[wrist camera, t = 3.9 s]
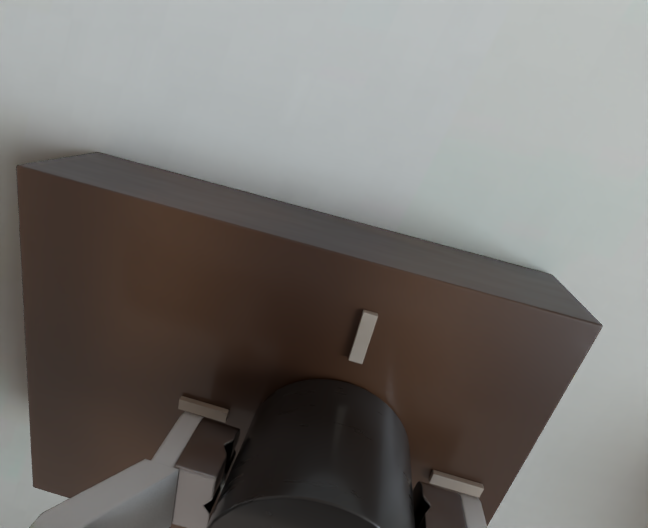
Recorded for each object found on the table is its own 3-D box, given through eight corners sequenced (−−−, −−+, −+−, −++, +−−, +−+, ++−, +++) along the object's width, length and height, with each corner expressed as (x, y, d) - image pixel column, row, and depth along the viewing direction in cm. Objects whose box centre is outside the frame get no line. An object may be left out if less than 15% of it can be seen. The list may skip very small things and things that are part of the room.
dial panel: (91, 423, 17) (28, 491, 14) (96, 151, 12) (9, 165, 10) (428, 525, 16) (438, 618, 13) (553, 274, 12) (608, 329, 9)
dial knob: (239, 477, 12) (181, 626, 9) (265, 358, 11) (207, 482, 7) (382, 520, 12) (382, 690, 9) (432, 406, 10) (456, 558, 7)
